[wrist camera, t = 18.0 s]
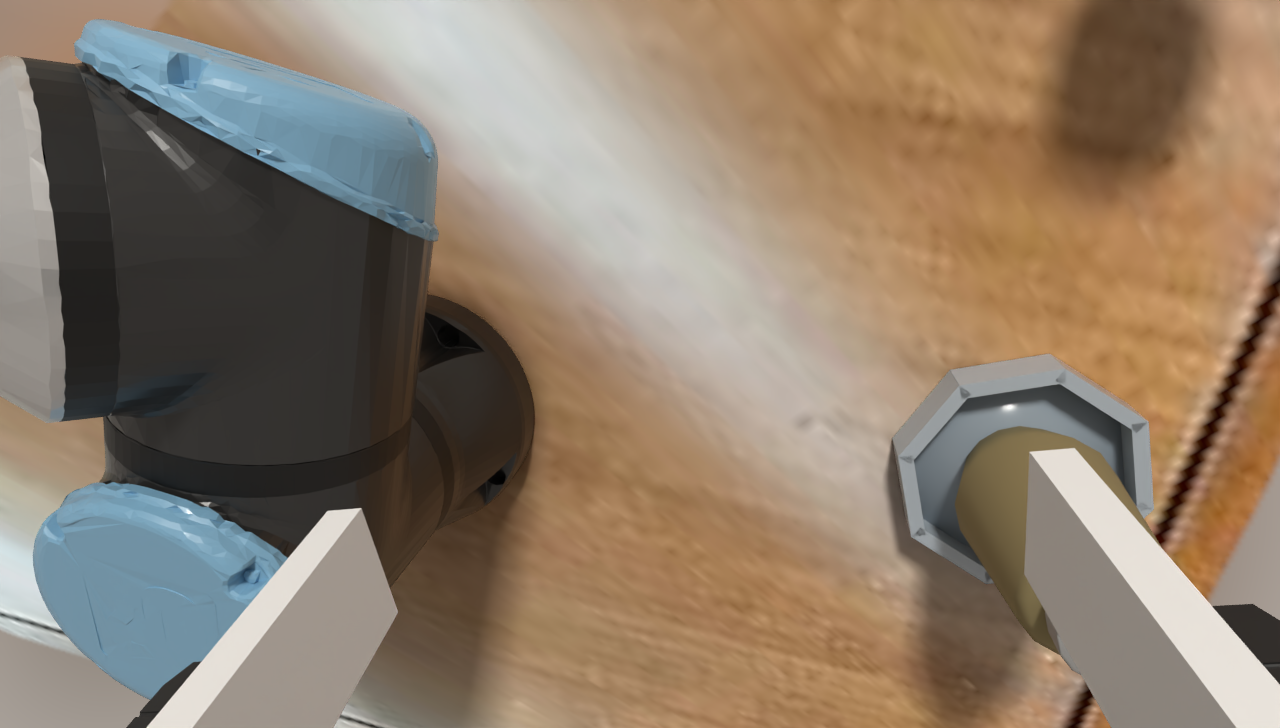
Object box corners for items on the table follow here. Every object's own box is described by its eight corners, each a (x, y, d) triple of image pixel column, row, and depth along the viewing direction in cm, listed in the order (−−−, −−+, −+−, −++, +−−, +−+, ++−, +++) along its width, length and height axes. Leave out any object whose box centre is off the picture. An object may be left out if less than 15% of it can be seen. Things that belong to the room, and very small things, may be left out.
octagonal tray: (913, 566, 47) (920, 590, 45) (882, 381, 44) (888, 396, 41) (1137, 542, 44) (1157, 567, 42) (1123, 341, 41) (1144, 355, 38)
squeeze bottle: (1115, 504, 43) (1330, 766, 26) (972, 551, 45) (1084, 818, 28) (1064, 383, 41) (1259, 579, 24) (918, 439, 43) (1004, 651, 27)
